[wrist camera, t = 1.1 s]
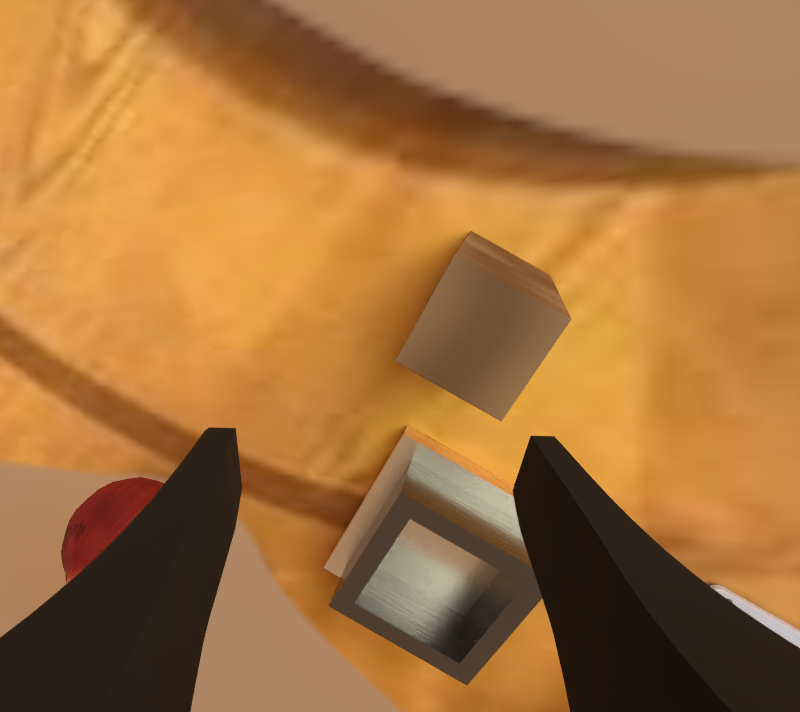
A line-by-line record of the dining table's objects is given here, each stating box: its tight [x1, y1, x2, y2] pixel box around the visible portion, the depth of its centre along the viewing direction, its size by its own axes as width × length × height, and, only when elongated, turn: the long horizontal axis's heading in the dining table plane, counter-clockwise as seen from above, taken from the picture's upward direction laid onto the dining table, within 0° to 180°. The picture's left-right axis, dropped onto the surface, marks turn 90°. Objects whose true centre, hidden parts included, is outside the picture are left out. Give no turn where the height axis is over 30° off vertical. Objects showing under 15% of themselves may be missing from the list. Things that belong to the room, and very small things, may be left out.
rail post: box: [395, 231, 571, 421], centre depth 20 cm, size 4×4×8 cm
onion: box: [61, 477, 164, 584], centre depth 27 cm, size 6×6×8 cm
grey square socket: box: [324, 426, 542, 685], centre depth 26 cm, size 10×10×4 cm
